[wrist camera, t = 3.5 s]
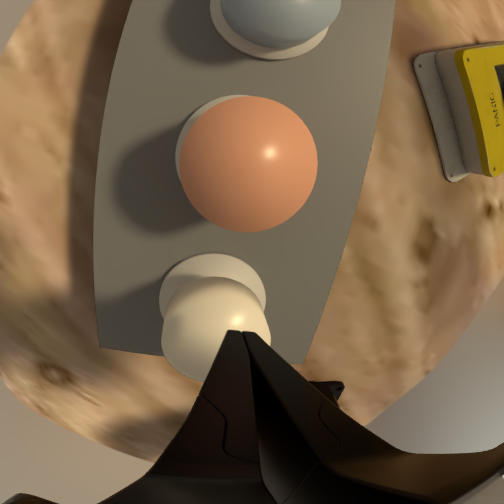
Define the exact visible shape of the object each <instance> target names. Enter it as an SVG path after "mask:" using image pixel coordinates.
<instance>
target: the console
mask: <svg viewBox="0 0 504 504" xmlns="http://www.w3.org/2000/svg"><path fill="white" fill-rule="evenodd" d="M394 11H395V0H341V7H340V11H339V13H338V15H337V17H336V19H335V20H334V21H333V22H332V23H331V24H330V25H329V26H328V27H327V28H325V29H324V30H323V31H321V32H320V33H318V34H317V35H315V36H314V37H313V38H311V39H310V40H309V41H307V42H305V43H303V44H301V45H298V46H295V47H290V48H268V47H263V46H260V45H256V44H254V43H251V42H249V41H247V40H246V39H244V38H242V37H241V36H239V35H238V34H237V33H236V32H234V31H233V30H232V29H231V27H230V26H229V25H228V24H227V22H226V21H225V19H224V17H223V14H222V11H221V6H220V0H132V3H131V6H130V9H129V12H128V15H127V19H126V22H125V25H124V28H123V32H122V35H121V39H120V42H119V46H118V50H117V54H116V58H115V62H114V66H113V70H112V75H111V79H110V84H109V89H108V94H107V99H106V105H105V110H104V116H103V123H102V129H101V137H100V144H99V153H98V162H97V172H96V184H95V200H94V225H93V266H94V291H95V307H96V319H97V329H98V339H99V347H102V348H108V349H114V350H120V351H127V352H133V353H141V354H148V355H156V356H164V353H163V350H162V346H161V338H162V331H163V324H164V317H165V310H166V307H167V304H168V302H169V300H170V298H171V297H172V295H173V294H174V293H175V292H176V291H177V290H178V289H179V288H180V287H182V286H183V285H185V284H187V283H188V282H191V281H193V280H196V279H199V278H203V277H212V276H217V277H226V278H230V279H233V280H236V281H238V282H241V283H242V284H244V285H246V286H247V287H248V288H249V289H251V290H252V291H253V292H254V293H255V295H256V296H257V298H258V299H259V301H260V304H261V307H262V310H263V313H264V316H265V319H266V322H267V324H268V327H269V331H270V336H271V344H270V347H271V348H272V349H273V350H275V351H276V352H277V353H278V354H279V355H280V356H281V357H282V358H283V359H284V360H285V361H286V362H287V363H289V364H303V362H304V360H305V357H306V355H307V352H308V350H309V347H310V345H311V342H312V340H313V337H314V334H315V332H316V329H317V326H318V324H319V321H320V318H321V315H322V313H323V310H324V307H325V304H326V301H327V299H328V296H329V293H330V290H331V287H332V284H333V281H334V278H335V275H336V272H337V269H338V266H339V263H340V260H341V257H342V253H343V250H344V247H345V244H346V240H347V237H348V234H349V230H350V227H351V224H352V220H353V217H354V213H355V210H356V206H357V202H358V199H359V195H360V191H361V188H362V184H363V180H364V176H365V172H366V168H367V164H368V160H369V155H370V151H371V147H372V142H373V138H374V133H375V129H376V124H377V119H378V114H379V109H380V104H381V99H382V94H383V88H384V83H385V77H386V71H387V65H388V58H389V51H390V44H391V37H392V29H393V20H394ZM245 96H256V97H262V98H267V99H270V100H274V101H276V102H278V103H281V104H283V105H284V106H286V107H287V108H289V109H290V110H292V111H293V112H294V113H295V114H297V115H298V117H299V118H300V119H301V120H302V121H303V122H304V124H305V125H306V126H307V128H308V129H309V131H310V133H311V135H312V137H313V140H314V143H315V146H316V151H317V159H318V166H317V175H316V180H315V183H314V186H313V189H312V191H311V193H310V195H309V197H308V199H307V200H306V202H305V203H304V204H303V206H302V207H301V208H300V209H299V210H298V211H297V212H296V213H295V214H294V215H293V216H292V217H290V218H289V219H288V220H286V221H285V222H283V223H281V224H280V225H277V226H275V227H273V228H270V229H267V230H263V231H258V232H236V231H231V230H227V229H225V228H222V227H219V226H217V225H215V224H213V223H212V222H210V221H209V220H207V219H205V218H204V217H203V216H202V215H201V214H200V213H199V212H198V211H197V210H196V209H195V208H194V207H193V205H192V204H191V202H190V201H189V199H188V198H187V196H186V193H185V191H184V189H183V186H182V183H181V178H180V170H179V161H180V153H181V149H182V145H183V142H184V140H185V137H186V135H187V133H188V132H189V130H190V128H191V127H192V125H193V124H194V123H195V121H196V120H197V119H198V118H199V117H200V116H201V115H202V114H203V113H205V112H206V111H207V110H209V109H210V108H211V107H213V106H215V105H217V104H218V103H221V102H223V101H226V100H229V99H232V98H236V97H245ZM164 357H165V356H164Z"/></svg>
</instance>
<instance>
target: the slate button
mask: <svg viewBox="0 0 504 504" xmlns="http://www.w3.org/2000/svg"><path fill="white" fill-rule="evenodd" d="M220 6H221V11H222V14H223V17H224V19H225V21H226V22H227V24H228V25H229V26H230V27H231V29H232V30H233V31H234V32H236V33H237V34H238V35H239V36H241V37H242V38H244V39H246V40H247V41H249V42H251V43H254V44H256V45H260V46H263V47H268V48H290V47H295V46H298V45H301V44H303V43H305V42H307V41H309V40H310V39H311V38H313V37H314V36H315V35H317V34H318V33H320V32H321V31H323V30H324V29H325V28H327V27H328V26H329V25H330V24H331V23H332V22H333V21H334V20H335V19H336V17H337V15H338V13H339V11H340V7H341V0H220Z"/></svg>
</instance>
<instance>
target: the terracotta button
mask: <svg viewBox="0 0 504 504" xmlns="http://www.w3.org/2000/svg"><path fill="white" fill-rule="evenodd" d="M317 166H318V159H317V151H316V146H315V143H314V140H313V137H312V135H311V133H310V131H309V129H308V128H307V126H306V125H305V124H304V122H303V121H302V120H301V119H300V118H299V117H298V115H297V114H295V113H294V112H293V111H292V110H290V109H289V108H287V107H286V106H284V105H283V104H281V103H278V102H276V101H274V100H270V99H267V98H262V97H256V96H245V97H236V98H232V99H229V100H226V101H223V102H221V103H218V104H217V105H215V106H213V107H211V108H210V109H209V110H207V111H206V112H205V113H203V114H202V115H201V116H200V117H199V118H198V119H197V120H196V121H195V123H194V124H193V125H192V127H191V128H190V130H189V132H188V133H187V135H186V137H185V140H184V142H183V145H182V149H181V153H180V161H179V170H180V178H181V183H182V186H183V189H184V191H185V193H186V196H187V198H188V199H189V201H190V202H191V204H192V205H193V207H194V208H195V209H196V210H197V211H198V212H199V213H200V214H201V215H202V216H203V217H204V218H205V219H207V220H209V221H210V222H212V223H213V224H215V225H217V226H219V227H222V228H225V229H227V230H231V231H236V232H258V231H263V230H267V229H270V228H273V227H275V226H277V225H280V224H281V223H283V222H285V221H286V220H288V219H289V218H290V217H292V216H293V215H294V214H295V213H296V212H297V211H298V210H299V209H300V208H301V207H302V206H303V204H304V203H305V202H306V200H307V199H308V197H309V195H310V193H311V191H312V189H313V186H314V183H315V180H316V175H317Z"/></svg>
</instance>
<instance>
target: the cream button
mask: <svg viewBox="0 0 504 504" xmlns="http://www.w3.org/2000/svg"><path fill="white" fill-rule="evenodd" d="M227 330H239V331H241V332H242V331H251V332H255V333H257V334H258V335H259V336H260V337H261V338H262V339H263V340H264V341H265V342H266V343H267V344H268V345H269V346H270V344H271V336H270V331H269V327H268V324H267V322H266V319H265V316H264V313H263V310H262V307H261V304H260V301H259V299H258V298H257V296H256V295H255V293H254V292H253V291H252V290H251V289H249V288H248V287H247V286H246V285H244V284H242V283H241V282H238V281H236V280H233V279H230V278H226V277H217V276H212V277H203V278H199V279H196V280H193V281H191V282H188V283H187V284H185V285H183V286H182V287H180V288H179V289H178V290H177V291H176V292H175V293H174V294H173V295H172V297H171V298H170V300H169V302H168V304H167V307H166V310H165V317H164V324H163V331H162V338H161V346H162V350H163V353H164V356H165V358H166V359H167V361H168V362H169V363H170V365H171V366H172V367H173V368H174V369H175V370H177V371H178V372H179V373H181V374H183V375H185V376H187V377H189V378H191V379H194V380H198V381H203V382H204V381H205V379H206V377H207V375H208V372H209V370H210V368H211V366H212V363H213V361H214V359H215V357H216V354H217V352H218V350H219V348H220V345H221V343H222V341H223V339H224V336H225V334H226V332H227Z"/></svg>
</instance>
